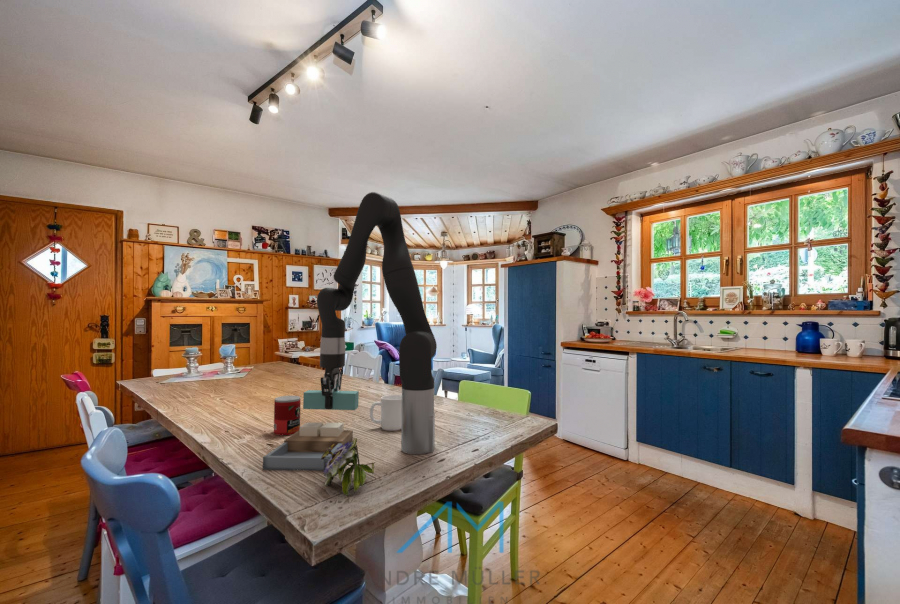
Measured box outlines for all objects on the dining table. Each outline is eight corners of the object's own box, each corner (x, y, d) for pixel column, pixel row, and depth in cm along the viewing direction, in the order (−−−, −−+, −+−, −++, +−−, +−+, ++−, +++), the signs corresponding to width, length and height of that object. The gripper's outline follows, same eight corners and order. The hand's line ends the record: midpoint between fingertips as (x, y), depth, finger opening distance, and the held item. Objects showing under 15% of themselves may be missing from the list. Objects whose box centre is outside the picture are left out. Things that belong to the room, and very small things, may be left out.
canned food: (290, 436, 119) (291, 401, 119) (268, 435, 120) (268, 399, 121) (304, 429, 126) (305, 396, 127) (283, 428, 128) (284, 394, 128)
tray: (341, 454, 103) (342, 443, 104) (327, 470, 92) (327, 458, 93) (283, 453, 104) (284, 442, 104) (262, 469, 93) (263, 457, 93)
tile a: (343, 431, 113) (343, 422, 113) (337, 436, 108) (337, 427, 108) (326, 431, 113) (326, 422, 113) (320, 436, 108) (320, 427, 108)
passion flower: (329, 510, 84) (318, 456, 90) (377, 492, 89) (364, 442, 95) (327, 500, 76) (316, 441, 82) (381, 481, 80) (366, 426, 86)
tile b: (323, 431, 113) (323, 422, 113) (316, 436, 108) (317, 427, 108) (306, 430, 113) (306, 422, 113) (299, 436, 108) (299, 427, 108)
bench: (352, 442, 113) (352, 430, 114) (341, 454, 103) (342, 441, 104) (299, 441, 114) (299, 429, 114) (283, 453, 104) (284, 440, 104)
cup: (407, 429, 127) (407, 398, 127) (370, 432, 123) (371, 400, 123) (403, 423, 134) (403, 393, 135) (368, 425, 131) (368, 395, 131)
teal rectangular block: (358, 407, 121) (358, 391, 121) (354, 410, 117) (355, 393, 117) (308, 405, 121) (308, 390, 121) (303, 409, 117) (303, 392, 117)
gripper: (337, 354, 112) (335, 413, 112) (351, 350, 127) (349, 402, 126) (312, 353, 113) (310, 412, 112) (328, 349, 127) (327, 401, 126)
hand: (331, 406), depth 119 cm, fingers closed on teal rectangular block, 4 cm apart
